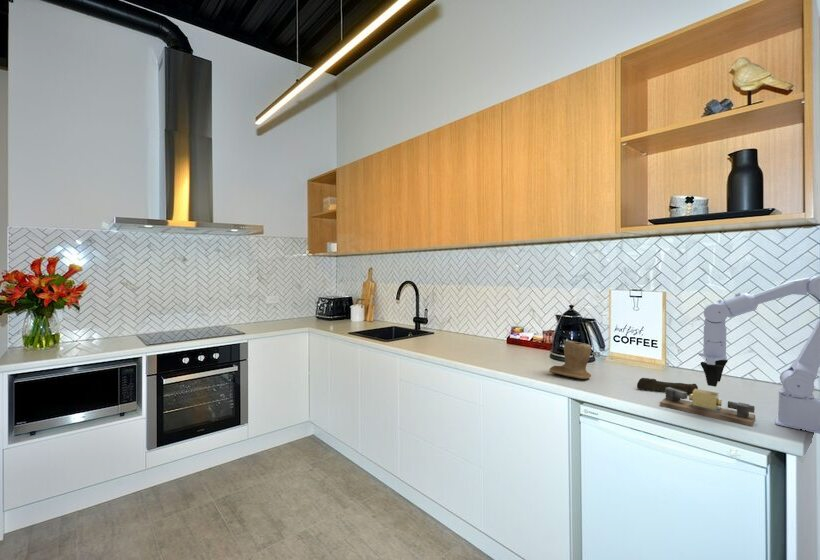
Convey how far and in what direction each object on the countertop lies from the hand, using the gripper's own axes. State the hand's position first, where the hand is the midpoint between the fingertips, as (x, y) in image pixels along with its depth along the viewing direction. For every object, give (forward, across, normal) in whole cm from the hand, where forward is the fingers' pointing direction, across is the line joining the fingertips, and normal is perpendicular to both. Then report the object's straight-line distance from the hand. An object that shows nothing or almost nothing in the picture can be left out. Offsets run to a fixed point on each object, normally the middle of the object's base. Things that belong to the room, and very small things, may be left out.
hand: (713, 383), depth 124 cm
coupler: (+7, +4, -2) cm, 8 cm away
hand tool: (+9, -11, -15) cm, 21 cm away
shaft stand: (+9, +4, -2) cm, 10 cm away
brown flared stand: (+9, -7, -48) cm, 50 cm away
